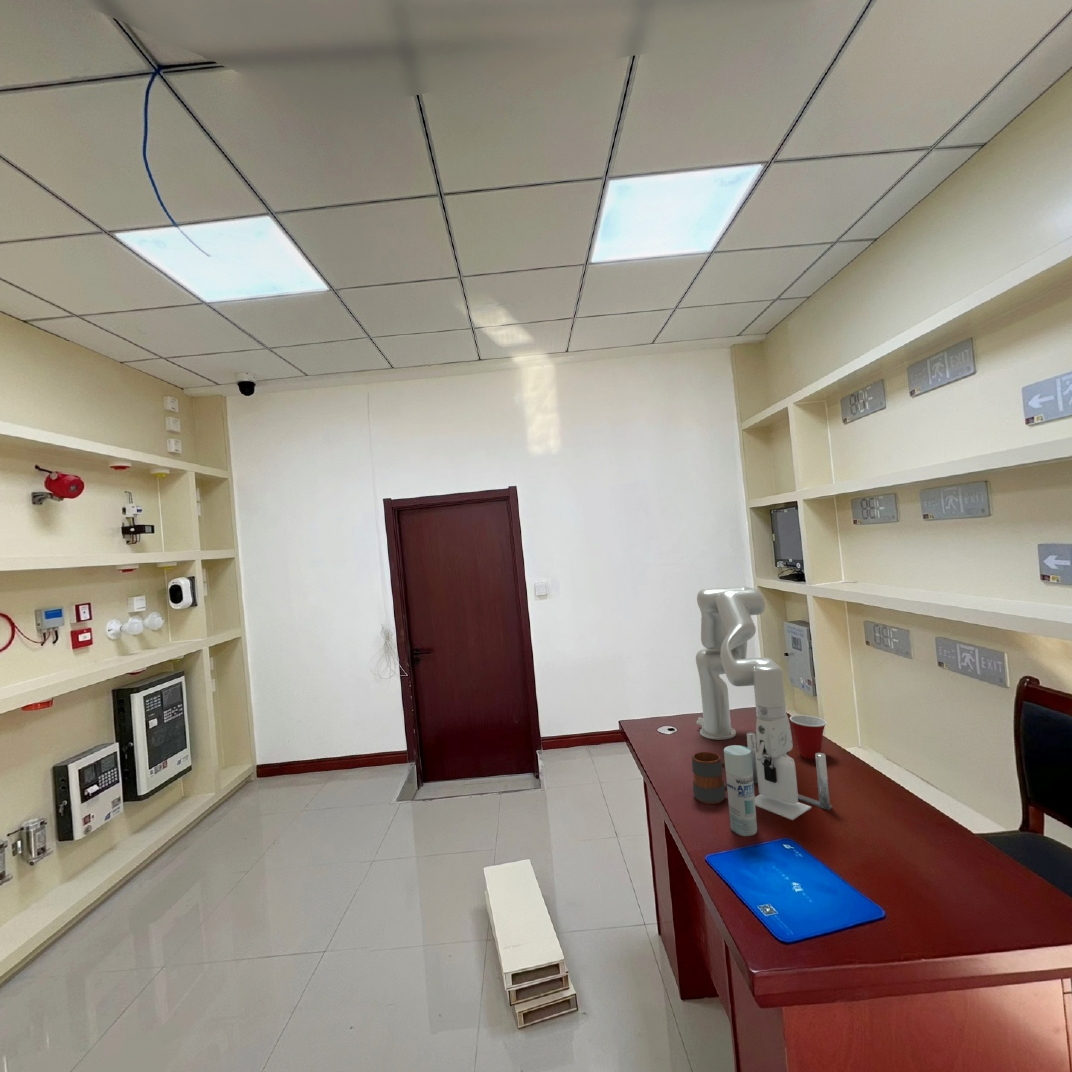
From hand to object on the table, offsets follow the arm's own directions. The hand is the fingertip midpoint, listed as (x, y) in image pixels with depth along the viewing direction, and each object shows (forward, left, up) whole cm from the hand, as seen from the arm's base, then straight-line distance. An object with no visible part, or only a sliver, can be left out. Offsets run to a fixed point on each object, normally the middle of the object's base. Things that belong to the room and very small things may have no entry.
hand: (776, 777), depth 148 cm
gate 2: (0, +7, -8) cm, 11 cm away
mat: (0, 0, -8) cm, 8 cm away
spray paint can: (+1, -17, -8) cm, 19 cm away
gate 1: (-13, +15, -8) cm, 22 cm away
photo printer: (0, 0, -6) cm, 6 cm away
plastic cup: (-11, +36, -8) cm, 38 cm away
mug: (-14, -8, -8) cm, 18 cm away
